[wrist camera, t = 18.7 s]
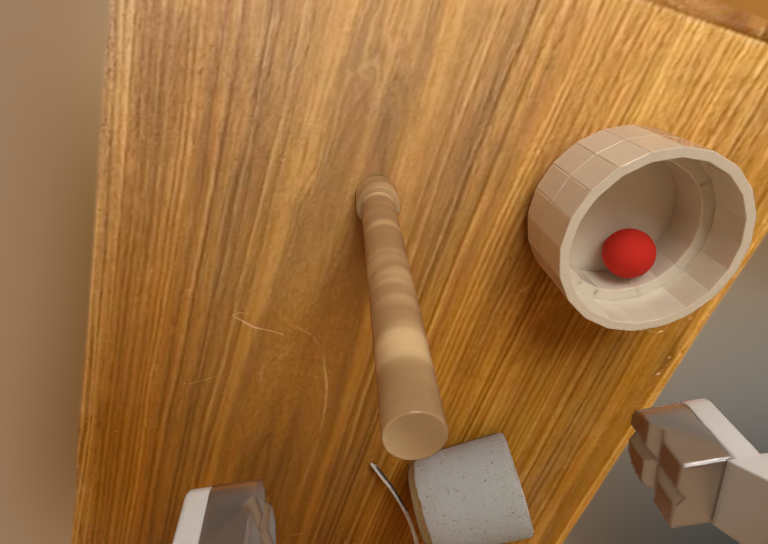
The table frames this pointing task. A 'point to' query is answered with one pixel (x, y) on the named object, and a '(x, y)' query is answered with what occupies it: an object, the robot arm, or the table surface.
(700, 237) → the bowl
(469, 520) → the ceramic mug
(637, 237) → the red ball
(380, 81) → the table surface
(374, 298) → the stir stick
